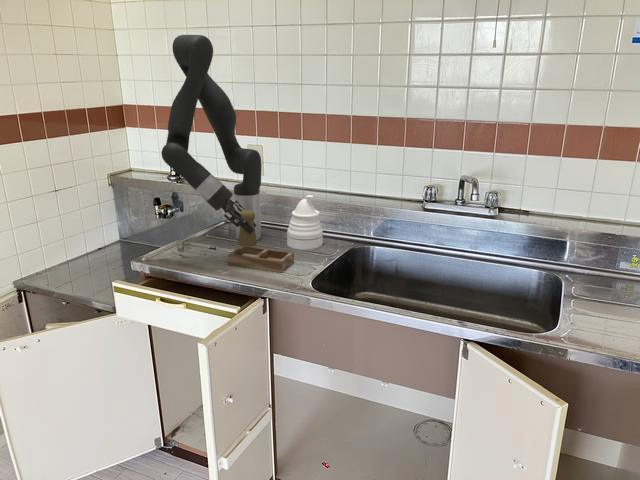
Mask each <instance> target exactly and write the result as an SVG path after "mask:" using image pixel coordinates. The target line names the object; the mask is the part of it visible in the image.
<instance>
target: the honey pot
mask: <svg viewBox="0 0 640 480" xmlns="http://www.w3.org/2000/svg"><path fill="white" fill-rule="evenodd" d="M313 199H314V195H312V194H311V195H309V194H308V195H305V198H302V199H301V200H299V202H298V204H297V205H296V206H295V208H294V209H293V211H292V212H291V215H292V216H291V219H290V221H289V224H288V228H287V230H286V231H287V233H286V234H287V235H286V236H287V237H286V239H287V240H286V241H287V242H286V244H287V247H290V248H291V249H295V250H301V251H302V250H303V251H305V250H306V251H307V250H314V248H315V249H319V248H321V247H322V246H323V245H322V244H324V237H323V236H324V235H323V234H324V233H323V232H324V231H323V227H322V224H321V222H320V221H321V220H320V219H319V216H320V211H319V210H317V209H316V208H315V207H314V205H313V204H312V201H313ZM320 246H321V247H320ZM318 247H319V248H318Z"/></svg>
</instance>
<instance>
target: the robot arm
mask: <svg viewBox="0 0 640 480" xmlns="http://www.w3.org/2000/svg"><path fill="white" fill-rule="evenodd" d="M172 53H173V57H174V59H175V61H176V63H177V64H178V66H179V68H180V69H181V71H182V73H183V74H184V76H185V79H184V83H183V84H182V86H181V88H180V90H179V91H178V93H177V94H176V96H175V97H174V99H173V102H172V104H171V107H170V110H169V111H170V112H169V117H168V123H167V132H168V133H167V137H166V144H165V145H164V146H163V147H162V148H161V149H162V150H161V158H162V160H163V162H164V163H165V164H167V166H169V167H170V169H172V170H173V171H174V172H175V173H177V174H178V175H179V176H180V177H182V178H183V179H184V181H186V183H187V184H188V185H189V186H191V187H192V188H193V189H194V190H195V192H197V193H198V195H199V196H200V197H201V198H202V199H203V200H204V201H205V202H206V203H208V204H209V206H211V208H213V209H214V210H215V211H219V210H220V209H221V210H222V211H223V212H224V214H223V217H225V218H226V219H227V220H228V221H229V222H230V223H231V224H233V225H235V239H236V240H237V241H239V232H240V227H242V228H243V229H244V230H245V231H246V232H247V233H248V234H251V233H252V232H253V231H254V228H253V227H251V226H250V225H249V224H248V223H247V222H246V221H245V220H244V219H243V217H242V214H241V211H243V210H251V211H253V212H254V213H255V219H254V227H255V233H256V240H257V241H258V240H260V239H261V238H262V223H261V222H262V216H261V201H260V200H261V199H260V198H261V197H260V195H261V194H260V189H261V185H262V158H261V157H262V156H261V155H260V153H259V152H258V151H257V150H256V149H252V148H243V147H241V145H240V144H239V142H238V140H237V137H236V134H235V133H236V132H235V131H236V126H237V125H236V124H237V114H236V112H235V108H234V106H233V105H232V102H231V99H230V98H229V96H228V94H227V93H226V92H225V91H224V89H222V87H220V86H219V84H218V83H217V82H216V81H214V79H213V78H212V77H211V76H210V74H209V73H208V72H209V70H210V66H211V64H212V61H213V56H214V46H213V44H212V42H211V40H210V39H209V37H207V36H206V35H202V34H181V35H178V36H176V37H175V38H174V40H173V43H172ZM198 101H199V103H200V105H201V108H202V110H203V112H204V114H205V116H206V118H207V120H208V122H209V124H210V127H211V128H212V129H213V130H212V131H214V134H215V136H216V138H217V141H218V143H219V146H220V149H221V150H222V154H223V156H224V159H225V161H226V164H227V166H228V168H229V170H230V171H231V172H232V173H234V174H238V175H242V182H240V183H237V184H235V185H234V186H233V192H232V191H231V190H230V189H228V187H226V186H225V185H224V184H223V183H222V182H221V181H220V179H218V178H217V177H215V175H212V173H211V172H210V171H209V170H208V169H207V168H205V166H203V164H202V163H199V162H198V161H197V160H196V159H195V158H194V157H193V156H192V155H191V154H190V153H189V152H188V151H189V146H190V145H189V143H190V137H191V132H192V129H193V123H194V117H195V113H196V108H197V104H198ZM232 197H233V198H234V199H233V200H232V199H231V198H232Z"/></svg>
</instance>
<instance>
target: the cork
mask: <svg viewBox="0 0 640 480" xmlns="http://www.w3.org/2000/svg"><path fill="white" fill-rule="evenodd" d="M241 214H242V217H243V219H244V220H245V221H246V222H247V223H248V224H249V225H250V226H251V227H253V228H254V231H253V232H252V233H251V234H248V233H247V232H246V231H245V230H244V229H243V228H242V227H240V232H239V240H237V243H238V246H239V247H241V246H245V247H249V246H251V247H255V246H257V245H258V242H257V241H258V240H256V233H255V227H254V219H255V213H254V212H253V211H251V210H243V211H241Z"/></svg>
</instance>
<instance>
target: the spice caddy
mask: <svg viewBox="0 0 640 480" xmlns="http://www.w3.org/2000/svg"><path fill="white" fill-rule="evenodd" d="M294 263H295V252H294V251H287V250H280V249H271V248H265V247H258V246H249V247H245V246H239V247H237V248H236V249H234V250H233V251H231V252H229V253H228V254H227V265H228V266H234V267H240V268H245V269H252V270H253V269H254V270H260V271H266V272H273V273H279V274H282V273H283V272H285V271H286V270H287V269H288V268H289V267H291V265H293V264H294Z"/></svg>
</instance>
